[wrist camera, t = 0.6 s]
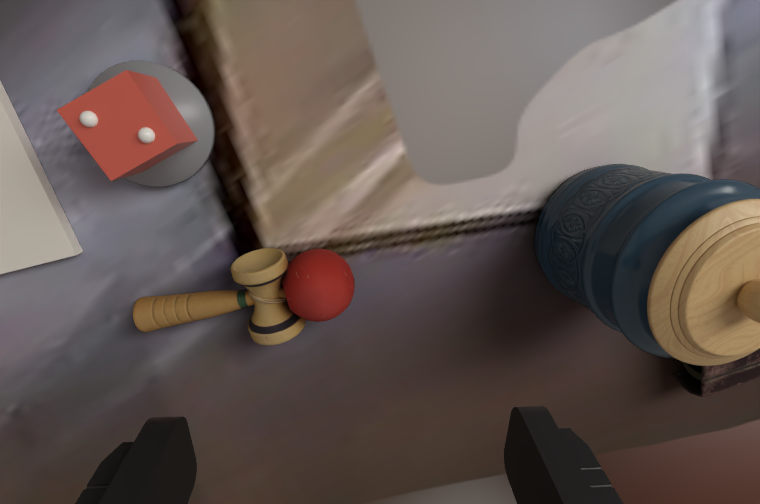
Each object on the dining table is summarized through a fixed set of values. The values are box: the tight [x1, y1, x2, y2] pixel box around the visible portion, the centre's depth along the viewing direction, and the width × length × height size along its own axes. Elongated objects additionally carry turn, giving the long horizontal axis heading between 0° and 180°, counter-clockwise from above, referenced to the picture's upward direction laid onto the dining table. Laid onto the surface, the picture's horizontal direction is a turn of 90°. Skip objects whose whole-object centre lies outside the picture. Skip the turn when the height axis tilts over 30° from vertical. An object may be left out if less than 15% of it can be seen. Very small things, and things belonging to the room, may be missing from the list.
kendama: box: [133, 248, 354, 345], centre depth 35 cm, size 8×6×18 cm
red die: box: [57, 61, 215, 187], centre depth 29 cm, size 9×9×6 cm
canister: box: [535, 164, 760, 366], centre depth 32 cm, size 13×13×18 cm
